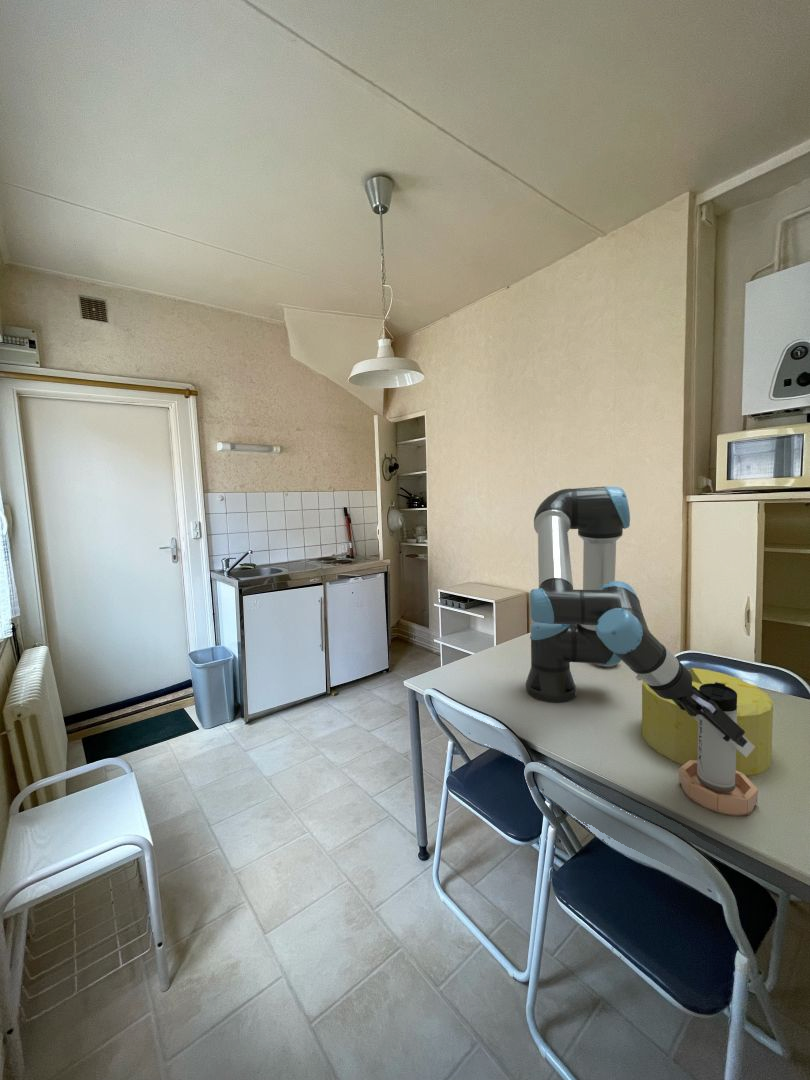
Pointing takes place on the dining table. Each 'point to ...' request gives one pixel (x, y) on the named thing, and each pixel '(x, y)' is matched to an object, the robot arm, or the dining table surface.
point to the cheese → (679, 730)
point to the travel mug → (716, 742)
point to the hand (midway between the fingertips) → (733, 741)
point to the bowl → (721, 802)
